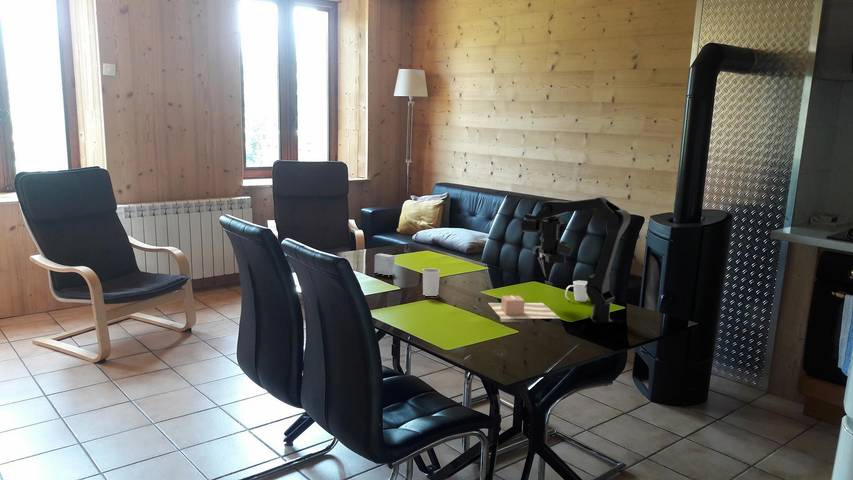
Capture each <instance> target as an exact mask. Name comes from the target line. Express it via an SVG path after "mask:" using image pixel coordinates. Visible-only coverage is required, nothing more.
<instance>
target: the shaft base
mask: <svg viewBox="0 0 853 480" xmlns="http://www.w3.org/2000/svg"><path fill="white" fill-rule="evenodd" d="M487 304H488V305H489V306H490V308H492V310H493V311H494V312H495V313H496V314H497V315H498V316H497V319H498V320H499V321H500V323H519V322H520V323H521V322H524V323H527V322H528V321H527V320H521V319H561V317H560V316H559V315H558V314H557V313H555V312H554V311H553V310H552V309H550V308H549V307H548V306H547V305H546V304H544V302H524V314H505V313H504V312H503V311H502V310H501V305H502V302H487ZM518 319H519V320H518Z"/></svg>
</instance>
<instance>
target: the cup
mask: <svg viewBox="0 0 853 480" xmlns="http://www.w3.org/2000/svg"><path fill="white" fill-rule="evenodd" d="M587 281H588V280H574V281H573V282H572V285H571V284H570V285H568V286H567V287H566V288H565V293H564V296H565V298H566V299H567V300H568V301H570V302H571V301H572V300H571V299H570V298H569V297H568V290H569V288H573V296H574V297H573V298H574V300H575V301H576V302H582V303H584V302H587V301H588V298H589V297H588V295H587V293H586V288H587V287H586V288H585V286H586V285H587Z"/></svg>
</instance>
